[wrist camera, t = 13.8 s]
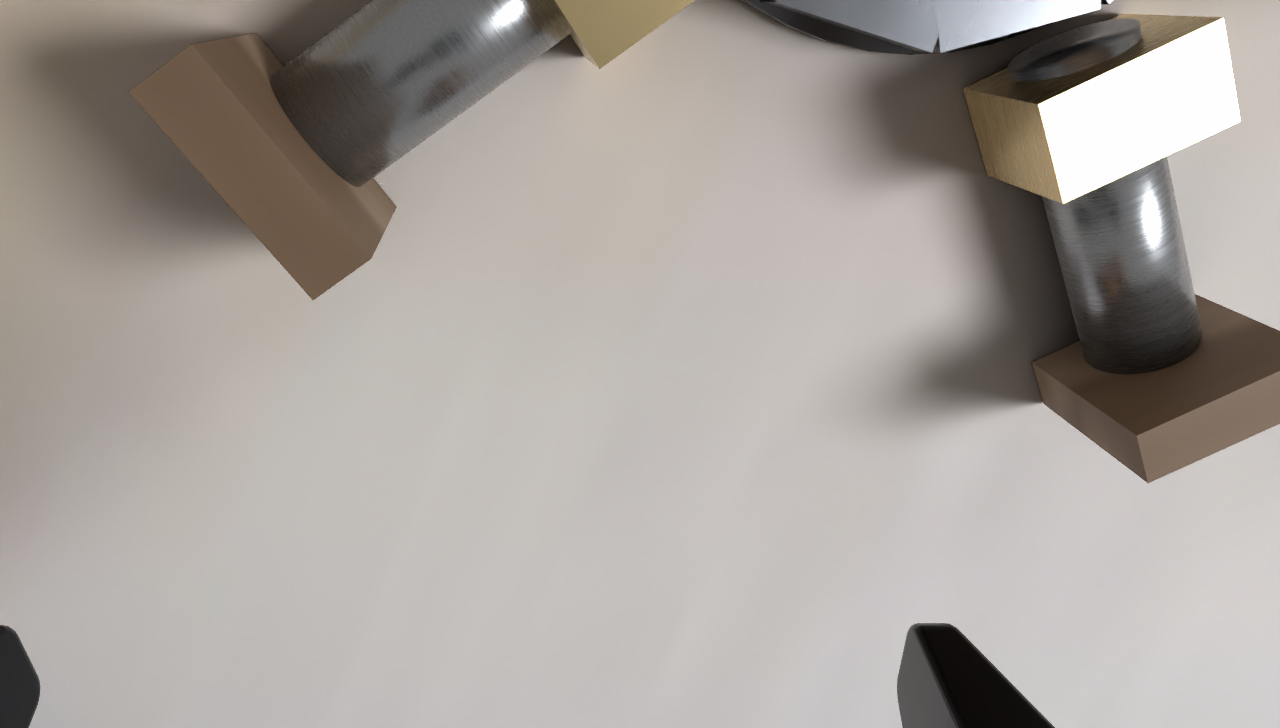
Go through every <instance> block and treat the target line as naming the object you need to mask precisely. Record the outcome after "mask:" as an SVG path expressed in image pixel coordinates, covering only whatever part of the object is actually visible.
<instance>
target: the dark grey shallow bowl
mask: <svg viewBox="0 0 1280 728" xmlns="http://www.w3.org/2000/svg"><path fill="white" fill-rule="evenodd" d="M743 1H745V2H746V3H747V4H749V5H750V6H752V7H754V8H756V9H757V10H759V11H761V12H762V13H764V14H766V15H768V16H769V17H771V18H773V19H775V20H776V21H778V22H780V23H781V24H783V25H785V26H788V27H790V28H793V29H795V30H798V31H800V32H803V33H805V34H808V35H810V36H813V37H815V38H818V39H820V40H823V41H827V42H831V43H835V44H839V45H843V46H848V47H852V48H856V49H860V50H866V51H874V52H885V53H897V54H909V55H913V54H930V53H947V52H955V51H960V50H965V49H970V48H975V47H980V46H985V45H990V44H994V43H996V42H999V41H1002V40H1005V39H1008V38H1011V37H1014V36H1017V35H1020V34H1022V33H1025V32H1028V31H1031V30H1033V29H1035V28H1037V27H1039V26H1041V25H1045V24H1049V23H1052V22H1056V21H1060V20H1063V19H1067V18H1071V17H1074V16H1078V15H1082V14H1085V13H1089V12H1093V11H1096V10H1100V9H1101V4H1110V3H1111V2H1112V1H1113V0H743Z"/></svg>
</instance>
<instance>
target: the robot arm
mask: <svg viewBox="0 0 1280 728" xmlns="http://www.w3.org/2000/svg"><path fill="white" fill-rule="evenodd" d="M897 694H898V703H899V709H900V715H901V720H902V726H903V728H1055V727H1054V726H1053V725H1052V724H1051V723H1050V722H1049V721H1048V720H1047V719H1046V718H1045V717H1044V716H1043V715H1042V714H1041V713H1040V712H1039V711H1038V710H1037V709H1036V708H1035V707H1034V706H1033V705H1032V704H1031V703H1030V702H1029V701H1028V700H1027V699H1026V698H1025V697H1024V696H1023V695H1022V694H1021V693H1020V692H1019V691H1018V690H1017V689H1016V688H1015V687H1014V686H1013V685H1012V684H1011V683H1010V682H1009V681H1008V679H1007V678H1006V677H1005V676H1004V675H1003V674H1002V673H1001V672H1000V671H999V670H998V669H997V668H996V667H995V666H994V665H993V664H992V663H991V662H990V661H989V660H988V659H987V658H986V657H985V656H984V655H983V654H982V653H981V652H980V651H979V650H978V649H977V648H976V647H975V646H974V645H973V644H972V643H971V642H970V641H969V640H968V639H967V638H966V637H965V636H964V635H963V634H962V633H961V632H960V631H959V630H958V629H957V628H956V627H954V626H952V625H950V624H946V623H917V624H914V625H912V626H911V627H910V629H909V631H908V633H907V637H906V642H905V646H904V651H903V656H902V660H901V665H900V670H899V674H898V681H897ZM39 696H40V682H39V678H38V675H37V673H36V671H35V669H34V667H33V665H32V663H31V661H30V659H29V657H28V655H27V653H26V651H25V649H24V647H23V645H22V643H21V641H20V639H19V637H18V635H17V633H16V632H15V631H14V630H13V629H12V628H10V627H9V626H4V625H0V728H29V726H30V723H31V720H32V718H33V715H34V713H35V710H36V708H37V705H38V701H39Z"/></svg>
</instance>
